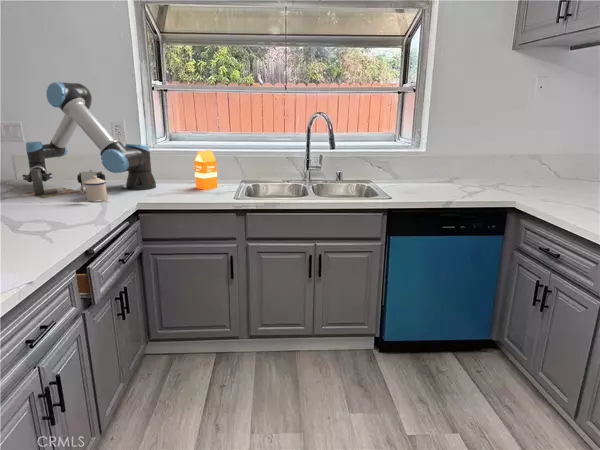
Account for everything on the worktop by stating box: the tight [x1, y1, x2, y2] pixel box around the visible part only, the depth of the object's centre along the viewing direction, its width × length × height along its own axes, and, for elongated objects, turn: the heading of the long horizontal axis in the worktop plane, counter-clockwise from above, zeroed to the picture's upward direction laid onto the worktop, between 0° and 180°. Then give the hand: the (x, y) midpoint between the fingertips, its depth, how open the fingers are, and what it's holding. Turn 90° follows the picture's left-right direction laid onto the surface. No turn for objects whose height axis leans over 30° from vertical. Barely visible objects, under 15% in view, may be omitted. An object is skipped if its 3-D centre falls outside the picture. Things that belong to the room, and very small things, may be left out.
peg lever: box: [29, 169, 64, 195], centre depth 197 cm, size 13×4×12 cm, turn 143°
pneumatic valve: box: [76, 169, 106, 187], centre depth 204 cm, size 6×12×12 cm, turn 94°
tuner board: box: [24, 187, 81, 199], centre depth 202 cm, size 18×18×1 cm
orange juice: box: [194, 149, 218, 191], centre depth 222 cm, size 8×9×20 cm
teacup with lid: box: [79, 176, 108, 204], centre depth 190 cm, size 12×9×12 cm
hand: (37, 181), depth 196 cm, fingers closed
